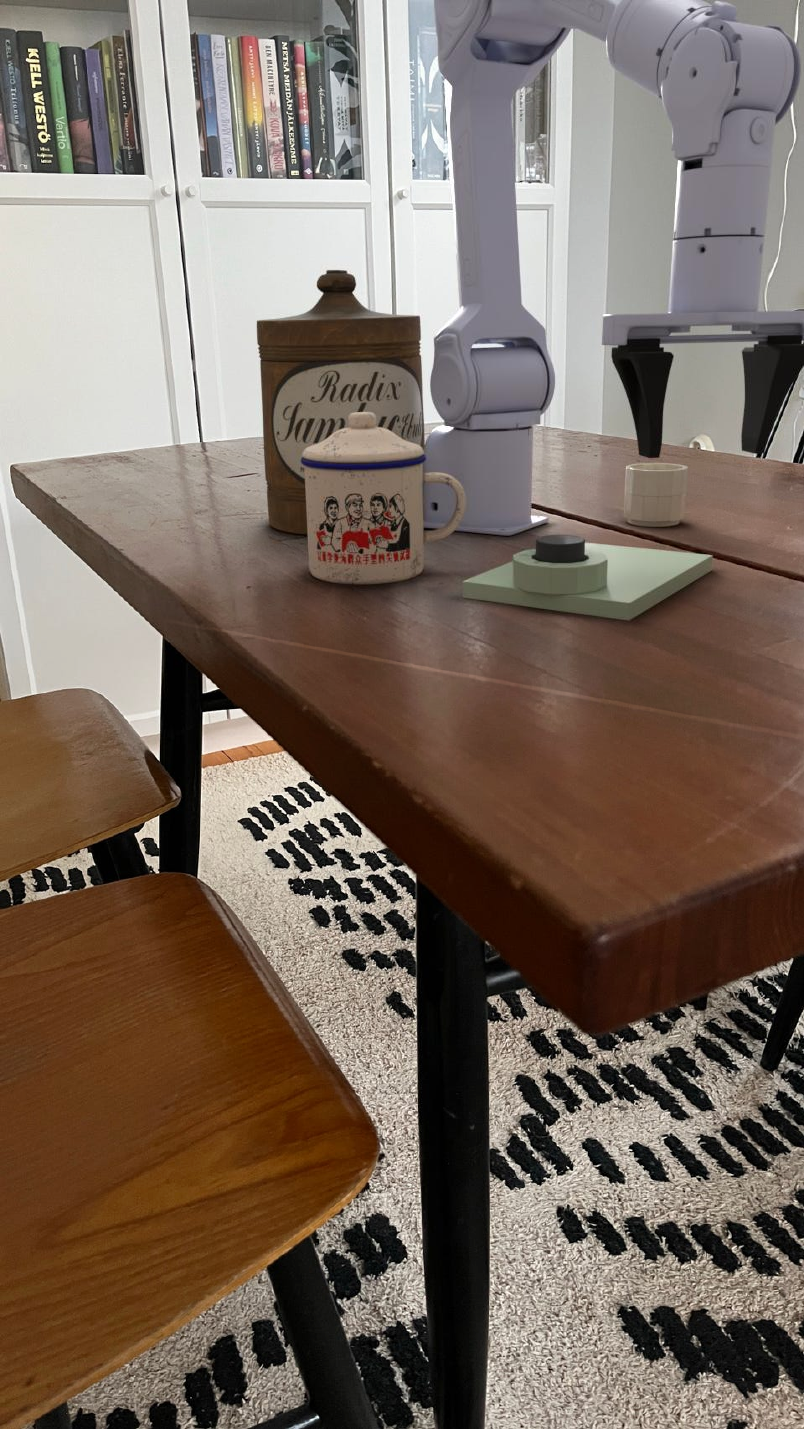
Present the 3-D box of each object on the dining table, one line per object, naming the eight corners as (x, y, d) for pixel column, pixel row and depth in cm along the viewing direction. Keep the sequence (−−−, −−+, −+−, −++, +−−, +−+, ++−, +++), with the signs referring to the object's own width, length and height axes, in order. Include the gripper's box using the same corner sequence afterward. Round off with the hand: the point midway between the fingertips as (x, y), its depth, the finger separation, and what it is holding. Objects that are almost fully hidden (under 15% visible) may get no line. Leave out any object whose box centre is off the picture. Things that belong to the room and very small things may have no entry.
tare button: (571, 569, 68) (572, 545, 67) (526, 564, 69) (527, 541, 69) (592, 560, 70) (593, 537, 70) (548, 555, 72) (549, 532, 71)
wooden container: (282, 542, 92) (264, 268, 84) (258, 513, 105) (241, 274, 97) (445, 530, 95) (443, 265, 87) (402, 503, 108) (397, 271, 100)
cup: (613, 524, 96) (616, 468, 95) (636, 515, 101) (639, 461, 99) (671, 529, 93) (675, 472, 92) (692, 519, 98) (696, 464, 96)
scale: (625, 623, 65) (628, 576, 64) (458, 600, 71) (458, 556, 70) (711, 571, 78) (715, 530, 77) (563, 555, 84) (564, 517, 83)
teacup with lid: (302, 588, 75) (293, 419, 71) (310, 561, 84) (303, 409, 80) (469, 584, 75) (470, 416, 71) (461, 558, 84) (461, 406, 80)
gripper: (635, 235, 64) (622, 465, 68) (856, 234, 66) (829, 456, 71) (595, 244, 70) (586, 453, 75) (797, 242, 72) (776, 445, 77)
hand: (701, 454), depth 73 cm, fingers open, 7 cm apart
